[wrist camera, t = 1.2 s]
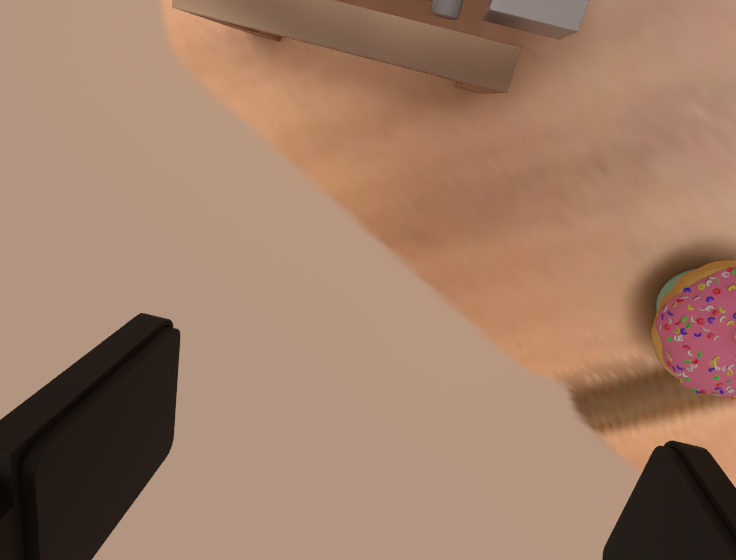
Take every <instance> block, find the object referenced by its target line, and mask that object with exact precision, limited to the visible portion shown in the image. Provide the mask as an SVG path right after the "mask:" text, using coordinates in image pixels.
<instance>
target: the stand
mask: <svg viewBox="0 0 736 560" xmlns="http://www.w3.org/2000/svg"><path fill="white" fill-rule="evenodd" d="M172 7H173V8H176V9H179V10H182V11H185V12H188V13H191V14H194V15H197V16H200V17H202V18H205V19H208V20H211V21H214V22H217V23H220V24H223V25H226V26H229V27H232V28H235V29H238V30H241V31H244V32H247V33H250V34H253V35H257V36H261V37H265V38H268V39H272V40H276V41H280V40H281V36H282V37H286V38H290V39H294V40H298V41H302V42H306V43H310V44H314V45H318V46H322V47H325V48H329V49H333V50H337V51H341V52H345V53H349V54H353V55H357V56H361V57H364V58H368V59H372V60H376V61H380V62H384V63H388V64H392V65H396V66H400V67H404V68H407V69H411V70H415V71H419V72H423V73H427V74H431V75H435V76H439V77H443V78H447V79H450V80H454V81H456V84H455V86H456V87H460V88H464V89H468V90H471V91H475V92H479V93H483V94H485V93H507V91H508V87H509V84H510V81H511V78H512V75H513V72H514V68H515V65H516V62H517V59H518V56H519V53H520V50H521V47H517V46H513V45H510V44H506V43H502V42H498V41H494V40H490V39H486V38H482V37H478V36H474V35H470V34H466V33H462V32H458V31H454V30H450V29H446V28H442V27H438V26H434V25H431V24H427V23H423V22H419V21H415V20H411V19H407V18H403V17H399V16H395V15H391V14H387V13H383V12H379V11H375V10H371V9H367V8H363V7H359V6H356V5H352V4H348V3H344V2H340V1H336V0H173V3H172Z"/></svg>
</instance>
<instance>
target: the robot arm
mask: <svg viewBox="0 0 736 560" xmlns="http://www.w3.org/2000/svg"><path fill="white" fill-rule="evenodd" d="M179 349H180V331H179V330H178V329H175V328H173V323H172V321H171V320H169V319H165V318H161V317H157V316H153V315H149V314H144V313H140V314H139V315H137V316H136V317H134V318H133V319H132V320H130V321H129V322H128V323H126V324H125V325H124V326H123V327H121V328H120V329H119V330H117V331H116V332H115V333H113V334H112V335H111V336H109V337H108V338H107V339H106V340H104V341H103V342H102V343H100V344H99V345H98V346H96V347H95V348H94V349H92V350H91V351H90V352H88V353H87V354H86V355H85V356H83V357H82V358H81V359H79V360H78V361H77V362H75V363H74V364H73V365H72V366H70V367H69V368H68V369H66V370H65V371H64V372H62V373H61V374H60V375H58V376H57V377H56V378H55V379H53V380H52V381H51V382H49V383H48V384H47V385H45V386H44V387H43V388H41V389H40V390H39V391H38V392H36V393H35V394H34V395H32V396H31V397H30V398H28V399H27V400H26V401H24V402H23V403H22V404H21V405H19V406H18V407H17V408H15V409H14V410H13V411H11V412H10V413H9V414H7V415H6V416H5V417H4V418H2V419H1V420H0V560H91V559H92V558H93V557H94V556H95V554H96V553H97V552H98V550H99V549H100V547H101V546H102V545H103V543H104V542H105V541H106V539H107V538H108V536H109V535H110V534H111V532H112V531H113V529H114V528H115V527H116V526H117V524H118V523H119V521H120V520H121V519H122V517H123V516H124V514H125V513H126V512H127V510H128V509H129V508H130V506H131V505H132V504H133V502H134V501H135V499H136V498H137V497H138V495H139V494H140V492H141V491H142V490H143V489H144V487H145V486H146V484H147V483H148V482H149V480H150V479H151V478H152V476H153V475H154V473H155V472H156V471H157V469H158V468H159V467H160V465H161V464H162V462H163V461H164V460H165V458H166V457H167V455H168V454H169V451H170V449H171V447H172V443H173V438H174V425H175V408H176V394H177V393H176V392H177V379H178V364H179ZM603 560H736V488H735V487H734V485H733V484H732V482H731V481H730V480H729V478H728V477H727V476H726V474H725V473H724V472H723V470H722V469H721V467H720V466H719V465H718V463H717V462H716V461H715V459H714V458H713V457H712V455H711V454H710V453H709V452H708V451H707V450H706V449H704V448H702V447H698V446H693V445H689V444H685V443H681V442H677V441H668V442H667V443H666V444H665V445H664V446H658V447H656V448H655V449H654V451H653V452H652V454H651V456H650V458H649V460H648V462H647V464H646V466H645V468H644V470H643V472H642V474H641V476H640V478H639V480H638V482H637V484H636V486H635V488H634V490H633V492H632V494H631V496H630V498H629V500H628V502H627V504H626V506H625V507H624V510H623V511H622V513H621V515H620V517H619V519H618V521H617V523H616V525H615V528H614V529H613V531H612V533H611V535H610V537H609V539H608V541H607V543H606V545H605V547H604V551H603Z"/></svg>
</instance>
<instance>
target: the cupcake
mask: <svg viewBox="0 0 736 560" xmlns="http://www.w3.org/2000/svg"><path fill="white" fill-rule="evenodd" d="M656 312H657V314H656V317H655V320H654V323H653V327H652V331H651V339H652V342H653V345H654V349H655V352H656V356H657V358H658V360H659V362H660V363H661V365H662V366H663V367H664V368H665V369H666V370H667V371H668V372H670V373H671V374H672V375H674V376H675V377H677V378H678V379H679V381H680V383H681V384H682V385H684V386H686V387H688V388H691V389H692V390H693V391H696V393H703V394H705V393H706V394H711V395H715V396H720V397H732V398H736V260H723V261H716V262H712V263H708V264H706V265H704V266H702V267H700V268H698V269H692V270H688V271H685V272H682V273H680V274H678V275H676V276H675V277H673V278H672V279H671V280H669V281H668V282H667V283H666V284H665V285H664V287H663V288H662V289H661V291H660V293H659V295H658V298H657V302H656ZM697 391H698V392H697Z"/></svg>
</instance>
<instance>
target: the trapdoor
mask: <svg viewBox="0 0 736 560" xmlns="http://www.w3.org/2000/svg"><path fill="white" fill-rule="evenodd" d="M431 1H433V3H432V7H431V11H430V13H431V14H433V15H435V16H438V17H442V18H446V19H451V20H458V17H459V13H460V10H461V6H462V2H463V0H431ZM588 2H589V0H488V2H487V5H486V9H485V12H484V16H483V19H482V20H484V21H488V22H492V23H496V24H500V25H504V26H508V27H511V28H515V29H519V30H523V31H527V32H531V33H535V34H539V35H543V36H547V37H551V38H555V39H559V40H560V39H562V38H564V37H567V36H569V35H571V34H573V33H576V32H578V31H579V28H580V25H581V22H582V19H583V16H584V14H585V11H586V8H587V5H588Z"/></svg>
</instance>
